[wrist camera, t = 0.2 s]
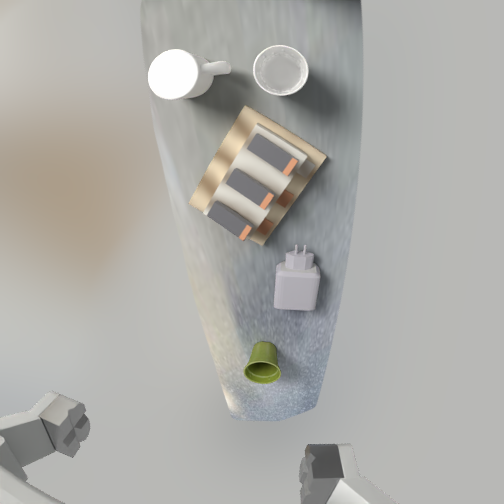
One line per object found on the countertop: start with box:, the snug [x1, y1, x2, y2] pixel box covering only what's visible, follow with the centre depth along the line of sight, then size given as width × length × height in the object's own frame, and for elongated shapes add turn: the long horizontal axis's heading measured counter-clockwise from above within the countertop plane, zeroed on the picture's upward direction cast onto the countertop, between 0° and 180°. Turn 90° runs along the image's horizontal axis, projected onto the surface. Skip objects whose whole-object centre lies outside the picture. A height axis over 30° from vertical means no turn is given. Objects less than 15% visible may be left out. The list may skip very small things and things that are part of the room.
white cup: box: [253, 45, 309, 96], centre depth 42 cm, size 8×8×10 cm
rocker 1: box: [247, 133, 299, 176], centre depth 47 cm, size 3×8×2 cm, turn 59°
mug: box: [148, 49, 231, 100], centre depth 43 cm, size 8×10×12 cm
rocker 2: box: [225, 168, 276, 210], centre depth 50 cm, size 3×8×2 cm, turn 59°
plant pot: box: [243, 342, 281, 384], centre depth 76 cm, size 9×9×9 cm
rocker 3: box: [207, 200, 254, 241], centre depth 54 cm, size 3×8×2 cm, turn 59°
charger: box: [274, 244, 321, 311], centre depth 64 cm, size 5×9×15 cm
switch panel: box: [189, 105, 327, 246], centre depth 54 cm, size 22×17×6 cm
